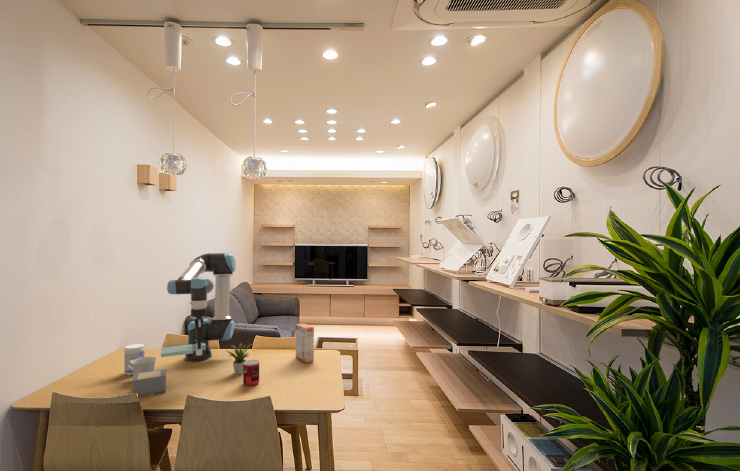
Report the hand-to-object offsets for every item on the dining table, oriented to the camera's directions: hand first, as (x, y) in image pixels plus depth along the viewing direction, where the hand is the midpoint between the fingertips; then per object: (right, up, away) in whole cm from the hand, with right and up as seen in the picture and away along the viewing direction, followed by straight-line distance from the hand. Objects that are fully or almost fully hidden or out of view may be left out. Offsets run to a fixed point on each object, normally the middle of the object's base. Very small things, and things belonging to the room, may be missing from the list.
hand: (198, 353), depth 199 cm
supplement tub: (-43, -16, +16) cm, 48 cm away
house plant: (+16, -16, +17) cm, 28 cm away
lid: (-6, +2, -3) cm, 7 cm away
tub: (-20, -15, -10) cm, 27 cm away
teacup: (-33, -15, +6) cm, 37 cm away
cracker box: (+48, -16, +39) cm, 63 cm away
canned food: (+27, -16, 0) cm, 31 cm away
